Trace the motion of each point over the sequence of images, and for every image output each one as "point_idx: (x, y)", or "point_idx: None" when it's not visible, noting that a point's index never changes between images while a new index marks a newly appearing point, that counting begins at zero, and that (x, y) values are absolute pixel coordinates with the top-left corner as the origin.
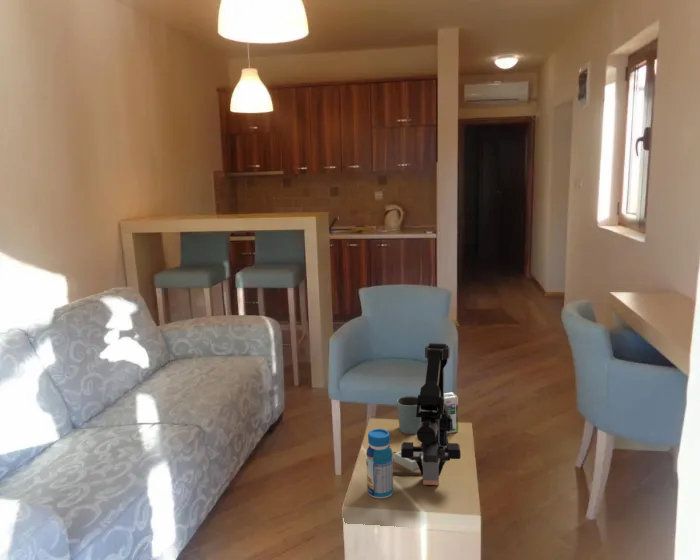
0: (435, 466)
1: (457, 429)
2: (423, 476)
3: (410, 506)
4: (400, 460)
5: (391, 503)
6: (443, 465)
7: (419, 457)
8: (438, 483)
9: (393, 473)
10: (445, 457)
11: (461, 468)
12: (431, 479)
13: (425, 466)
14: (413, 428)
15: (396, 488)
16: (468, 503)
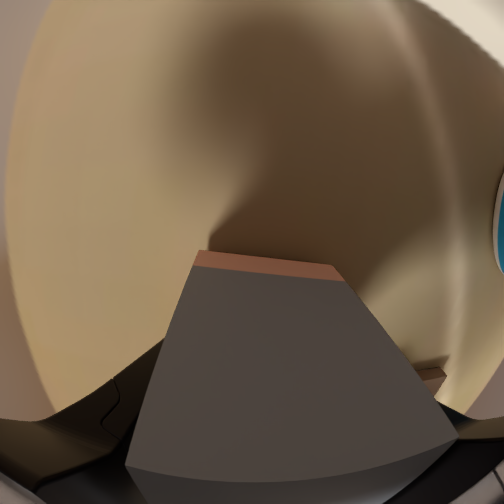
0: (214, 389)
1: None
2: (355, 300)
3: (431, 36)
4: None
5: (500, 103)
6: (89, 395)
7: (491, 471)
8: (199, 254)
9: (435, 372)
10: (3, 483)
11: None
12: (268, 277)
13: (388, 383)
14: None
15: (472, 241)
16: (53, 38)
